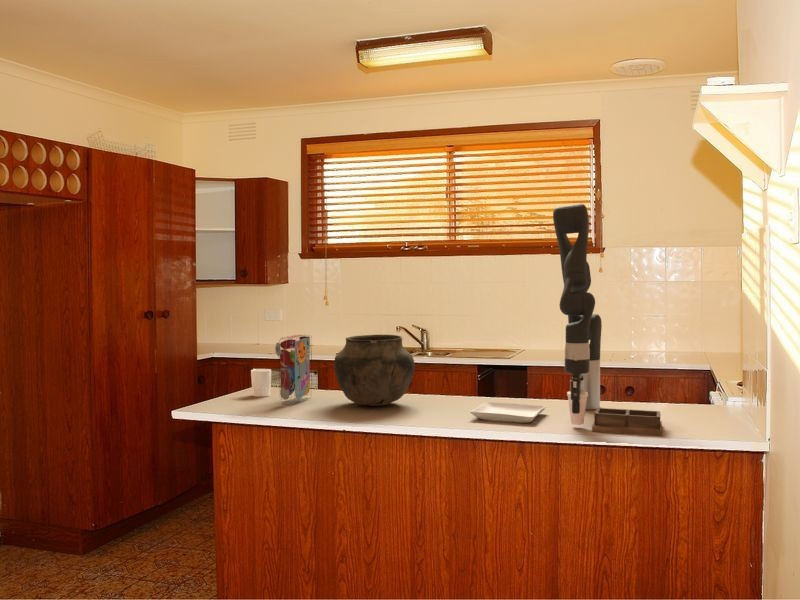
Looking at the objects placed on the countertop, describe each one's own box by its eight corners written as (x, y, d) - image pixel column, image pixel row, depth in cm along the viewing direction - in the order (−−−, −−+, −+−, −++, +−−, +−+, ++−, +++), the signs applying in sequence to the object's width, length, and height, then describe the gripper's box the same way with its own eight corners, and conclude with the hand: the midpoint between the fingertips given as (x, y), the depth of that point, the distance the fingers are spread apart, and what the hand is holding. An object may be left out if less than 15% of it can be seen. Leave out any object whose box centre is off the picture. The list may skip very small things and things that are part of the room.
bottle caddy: (595, 421, 242) (595, 406, 241) (661, 425, 235) (661, 409, 235) (591, 431, 227) (592, 415, 227) (661, 435, 221) (662, 419, 221)
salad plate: (546, 414, 256) (546, 404, 256) (533, 426, 236) (533, 415, 236) (486, 410, 264) (486, 400, 264) (468, 421, 244) (468, 411, 244)
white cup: (250, 394, 297) (249, 369, 297) (270, 393, 299) (269, 368, 299) (252, 397, 290) (252, 371, 289) (272, 396, 292) (272, 370, 291)
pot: (331, 414, 256) (331, 341, 255) (336, 398, 287) (336, 333, 286) (417, 413, 257) (417, 340, 256) (412, 397, 288) (412, 332, 287)
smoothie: (584, 420, 236) (584, 376, 235) (590, 425, 229) (590, 380, 229) (564, 421, 236) (564, 377, 235) (569, 426, 229) (569, 380, 228)
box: (283, 409, 264) (283, 340, 263) (267, 408, 266) (267, 340, 265) (312, 398, 288) (311, 334, 287) (297, 397, 290) (297, 334, 289)
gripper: (567, 353, 239) (567, 406, 240) (562, 359, 226) (561, 415, 227) (591, 354, 237) (591, 407, 238) (587, 360, 223) (587, 416, 224)
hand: (576, 411), depth 232 cm, fingers closed on smoothie, 5 cm apart
